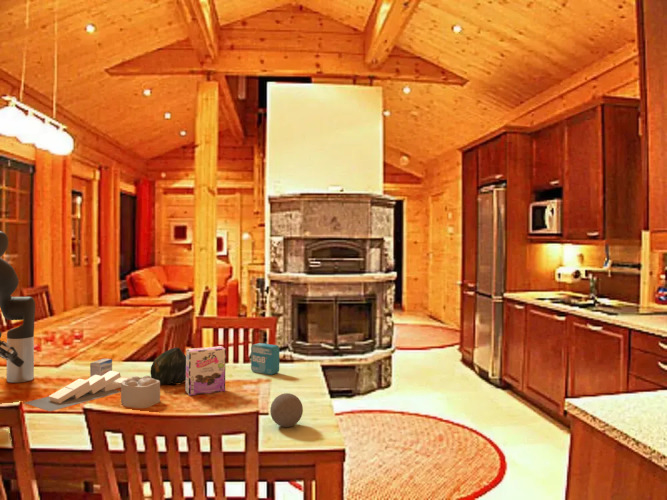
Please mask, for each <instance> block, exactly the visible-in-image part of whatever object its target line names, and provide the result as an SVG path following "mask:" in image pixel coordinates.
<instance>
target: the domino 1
mask: <svg viewBox="0 0 667 500" xmlns="http://www.w3.org/2000/svg"><path fill="white" fill-rule="evenodd" d="M88 386H90V383H89V381H88V380H87V379H82V378H77V379H76V380H75V381H73V382H71V383H69V384H67V385H65V386H63V387H62V388H61V389H60V388H59V390H57V391H54V392H53V393H52V394H50V395H48V397H49V399H50V401H53V402H56V403H61V402H63V401H65V400H66V399H68V398H70V397H71V396H73V395H75V394H76V393H78V392H80V391H81V390H83V389H85V388H86V387H88Z"/></svg>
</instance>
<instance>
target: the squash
mask: <svg viewBox="0 0 667 500" xmlns="http://www.w3.org/2000/svg"><path fill="white" fill-rule="evenodd" d="M149 372H150V377H151V378H153V379H155V380H159V381H160V386H163V385H166V384H167V385H171V384H175V385H176V384H177V385H180V384H181V385H182V384H183V383H184V382H186V353H184V352H183V351H182V349H181V348H179V347H173V348H170V349H168V350H166V351H164V352H162V353H161V354H159V355H158V356H157V357H156V358H155V359H154V360H153V362H152V364H151V365H150V371H149Z"/></svg>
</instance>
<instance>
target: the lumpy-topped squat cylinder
mask: <svg viewBox="0 0 667 500" xmlns="http://www.w3.org/2000/svg"><path fill="white" fill-rule="evenodd" d="M120 391H121V392H120V403H121V405H122V406H123V407H126V408H133V409H146V408H150V407H152V406H154V405H156V404H159V403H160V402H161V384H160V381H159V380H155V379H153V378H151V375H146V374H145V375H143V376H142V377H140V376H138V375H134V376H132V377H130V378H128V379H127V380H124V381H122V383H121V387H120Z"/></svg>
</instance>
